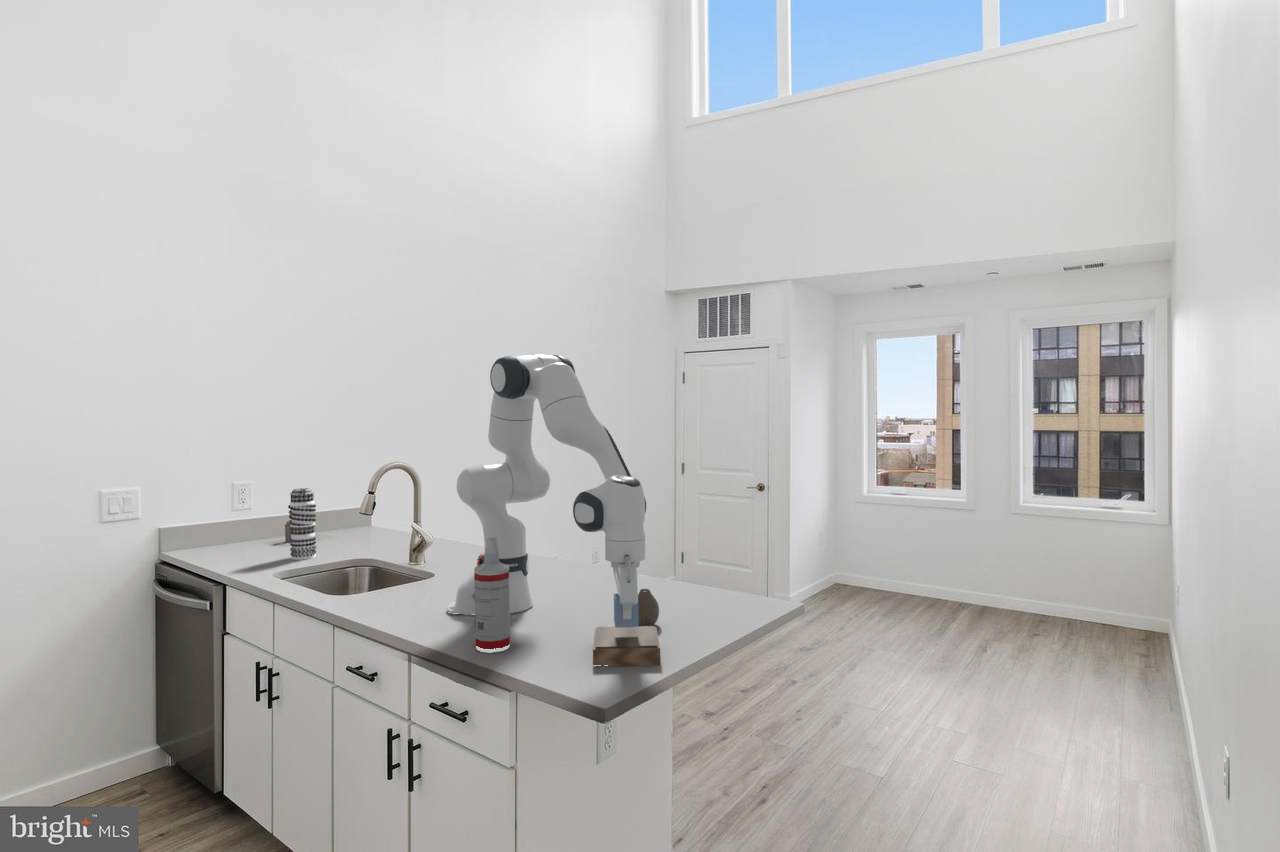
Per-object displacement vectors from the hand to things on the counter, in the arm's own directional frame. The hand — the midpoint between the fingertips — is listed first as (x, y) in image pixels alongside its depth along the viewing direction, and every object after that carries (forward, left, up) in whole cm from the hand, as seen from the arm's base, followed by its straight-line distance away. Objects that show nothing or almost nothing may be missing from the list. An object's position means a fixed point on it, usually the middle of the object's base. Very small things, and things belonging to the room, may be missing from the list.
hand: (626, 614), depth 153 cm
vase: (+5, +20, -9) cm, 23 cm away
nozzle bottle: (-30, +6, -9) cm, 32 cm away
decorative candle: (-116, +106, -9) cm, 157 cm away
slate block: (0, 0, -2) cm, 2 cm away
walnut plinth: (0, 0, -9) cm, 9 cm away
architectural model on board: (-132, +140, -10) cm, 193 cm away
